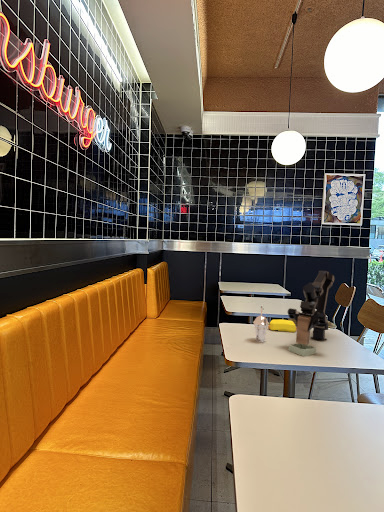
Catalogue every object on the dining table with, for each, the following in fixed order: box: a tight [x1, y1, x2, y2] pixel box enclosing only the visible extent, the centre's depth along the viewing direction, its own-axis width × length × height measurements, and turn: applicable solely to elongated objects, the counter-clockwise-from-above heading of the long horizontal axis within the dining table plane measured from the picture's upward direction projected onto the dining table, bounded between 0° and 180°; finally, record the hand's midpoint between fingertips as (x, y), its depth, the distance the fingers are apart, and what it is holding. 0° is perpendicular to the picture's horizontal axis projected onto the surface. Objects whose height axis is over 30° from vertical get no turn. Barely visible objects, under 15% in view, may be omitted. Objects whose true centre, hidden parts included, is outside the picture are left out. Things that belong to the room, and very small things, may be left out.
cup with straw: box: [252, 306, 270, 343], centre depth 186 cm, size 8×9×20 cm
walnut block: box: [295, 315, 311, 345], centre depth 171 cm, size 5×5×13 cm
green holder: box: [288, 342, 317, 357], centre depth 171 cm, size 9×9×3 cm
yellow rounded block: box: [267, 319, 297, 333], centre depth 213 cm, size 18×7×8 cm
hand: (302, 329), depth 169 cm, fingers closed on walnut block, 5 cm apart
